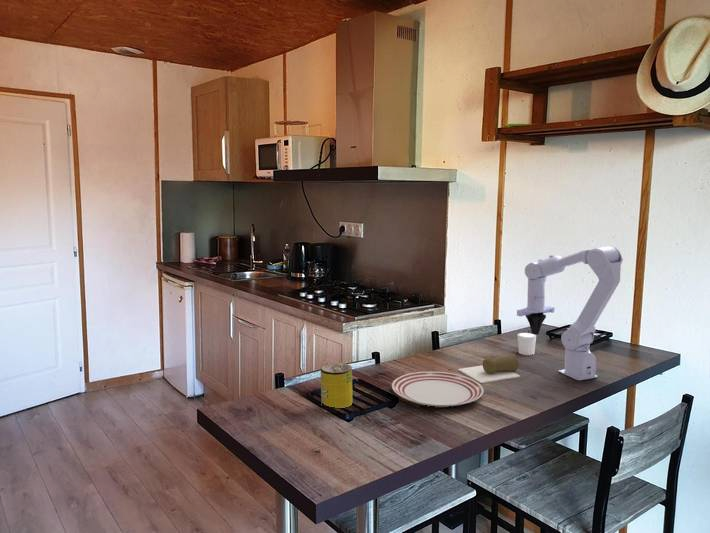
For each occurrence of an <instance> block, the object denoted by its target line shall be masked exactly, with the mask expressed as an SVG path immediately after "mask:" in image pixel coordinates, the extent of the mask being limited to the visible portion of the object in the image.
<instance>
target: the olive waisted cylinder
mask: <svg viewBox="0 0 710 533" xmlns="http://www.w3.org/2000/svg"><path fill="white" fill-rule="evenodd" d="M482 365H483V369H484V371H485V372H486V373H488V374H492V373H494V372H495V371H512V372H516V371H518V369H519V359H518V357H517V356H516V355H515V354H514V353H508V354H505V355H502V356H498V357H495V358H492V357H486V358H485V359H484V360H483V361H482Z"/></svg>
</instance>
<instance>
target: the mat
mask: <svg viewBox="0 0 710 533" xmlns="http://www.w3.org/2000/svg"><path fill="white" fill-rule="evenodd" d="M457 371H459V372H460V373H462V374H463V375H465V376H466V377H468V378H470V379H473V380H474V381H476V382H478V383H479V384H480V385H481V384H488V383H493V382H500V381H505V380H512V379H517V378H521V375H519V374H518V373H515V371H495V372H494V373H492V374H488V373H486V372H485V371H484V369H483V364H481V365H475V366H469V367H462V368H458V370H457Z"/></svg>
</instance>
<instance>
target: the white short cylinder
mask: <svg viewBox="0 0 710 533" xmlns="http://www.w3.org/2000/svg"><path fill="white" fill-rule="evenodd" d="M536 340H537V335H534V334H532V332H531V333H530V332H519V333H517V345H518V346H517V347H518V354H520V355H523V356H532V354H533V355H535V350H536V343H537V341H536Z"/></svg>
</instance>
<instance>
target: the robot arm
mask: <svg viewBox="0 0 710 533" xmlns="http://www.w3.org/2000/svg"><path fill="white" fill-rule="evenodd" d="M623 261H624V258H623V255H622V253H621V251H620V250H619V248H618V247H616V246H613V245H609V246H605V247H597V248H595V247H594V248H590V249H584V250H580V251H577V252H575V253H572V254H568V255H566V256H563V257H562V256H560V255H555V254H552V255H549V256H548V258H545V259H542V258H541V259H538V261H537V262H530V263H528V264H527V265H525V268H524V275H525V276H526V278H527V303H526V304H527V305H526V307H525V308H521V309H516V316H518V317H523V316H525V317H526V319H527V323H529V326H530V332H531V333H532V334H534V335H536V336H537V335H539V334H540V330H541V327H542V325H543V323H544V322H545V320H546V318H547V315H546V313H555V307H554V306H551V305H549V306H545V302H546V301H545V300H546V299H545V298H546V296H545V294H546V282H547V277H548V276H552V275H556V274H560V273H562V272H564V270H565V269H566V267H569V266H573V265H576V264H580V263H583V264H584V265H588V266H589V267H590V269H591V270H592V272H593V273H594V274H595V275H596V277H597V279H598V282H597V283H596V286H595V287H594V289H593V291H592V293H591V294H590V297H589V298H588V300H587V302H586V303H585V305H584V307H583V309H582V311H581V312H580V314H579V316H578V318H577V319H576V321H574V322H573V323H572V324H571V325H569V327H568V329H567V330H565V331H563V332H562V334H561V338H560V339H561V344H562V345H563V346H564V349H565V351H564V353H565V355H564V369H560V370H558V372H559V373H561V374H563V375H564V376H565V375H566V376H568V377H570V378H571V379H573V380H576V381H585V380H589V379H590V380H591V379H594V378H598V375H597V357H596V355H595V354H593V353H592V352H591V350H590V345H591V344H592V343H593V342H594V338H595V333H596V331H597V328H596V327H595V325H596V324H597V322H598V320H599V318H600V316H601V314H603V312H604V309H605V308H606V306H607V304H608V303H609V301H610V300H611V298H612V296H613V294H614V293H615V290H616V289H617V288H618V286H619V284H620V282H621V270H622V268H621V266H622V263H623Z"/></svg>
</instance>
